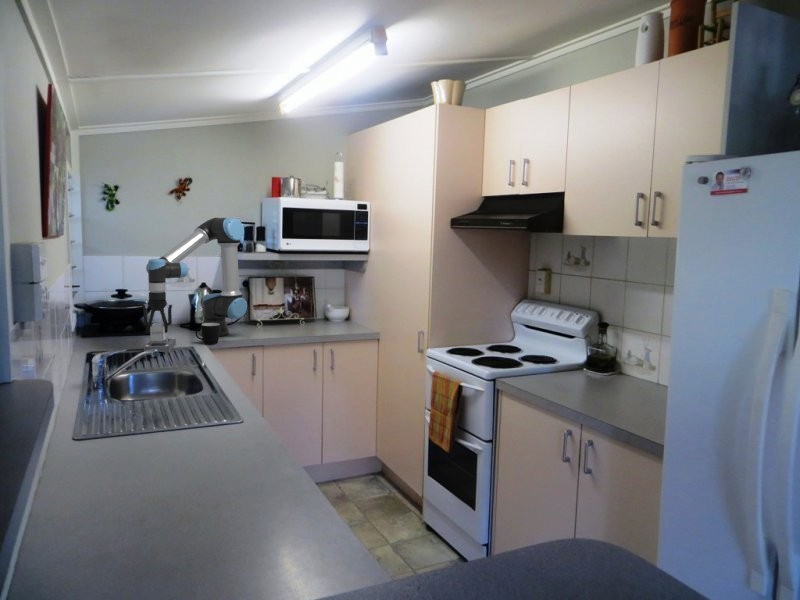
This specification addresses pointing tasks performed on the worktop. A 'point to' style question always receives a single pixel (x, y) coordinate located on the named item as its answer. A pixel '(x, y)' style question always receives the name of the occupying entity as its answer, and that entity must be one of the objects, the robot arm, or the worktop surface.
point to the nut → (157, 331)
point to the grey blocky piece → (161, 344)
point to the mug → (209, 333)
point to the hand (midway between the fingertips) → (158, 339)
